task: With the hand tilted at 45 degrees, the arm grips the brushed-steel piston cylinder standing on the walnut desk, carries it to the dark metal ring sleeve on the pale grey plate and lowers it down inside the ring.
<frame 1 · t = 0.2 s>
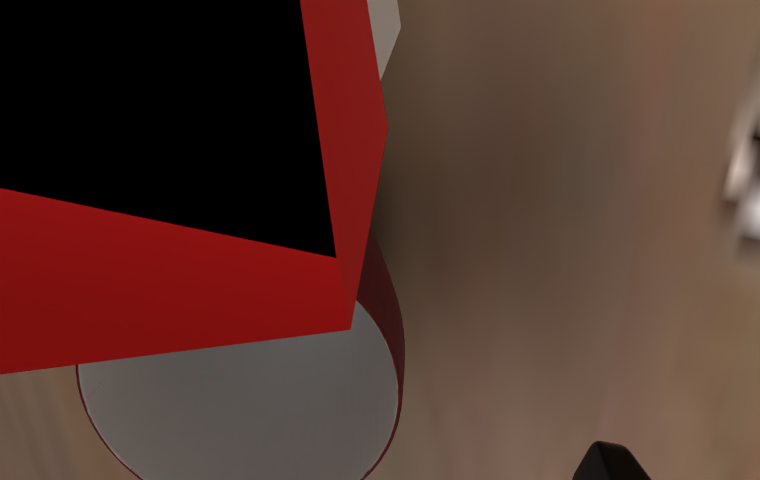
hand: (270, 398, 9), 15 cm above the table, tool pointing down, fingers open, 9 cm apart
mug: (309, 269, 25), on the table
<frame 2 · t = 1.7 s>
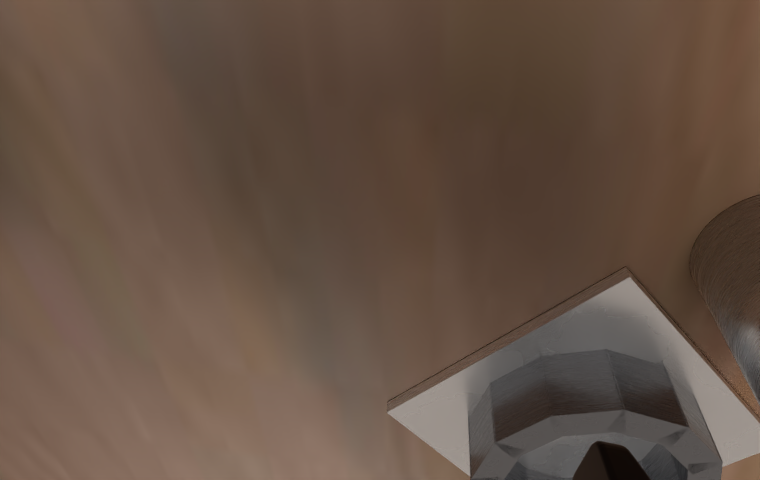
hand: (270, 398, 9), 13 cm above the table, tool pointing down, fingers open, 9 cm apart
ring sleeve: (577, 417, 28), on the table
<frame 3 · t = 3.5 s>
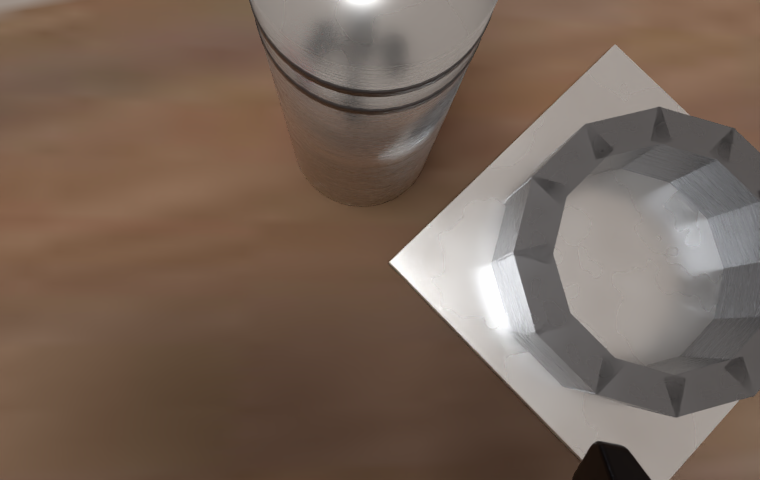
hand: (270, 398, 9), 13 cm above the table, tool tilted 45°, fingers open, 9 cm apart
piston: (361, 140, 23), on the table
ring sleeve: (618, 268, 23), on the table
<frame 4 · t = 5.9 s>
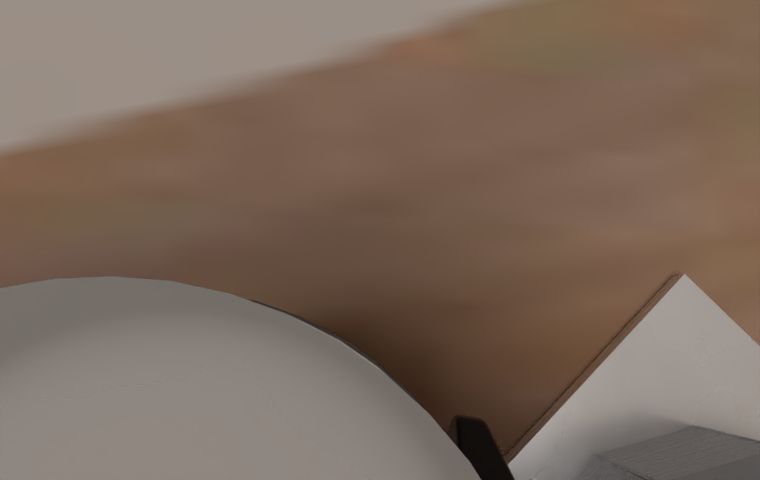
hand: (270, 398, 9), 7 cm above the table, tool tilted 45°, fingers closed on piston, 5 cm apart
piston: (293, 432, 15), on the table, touching gripper
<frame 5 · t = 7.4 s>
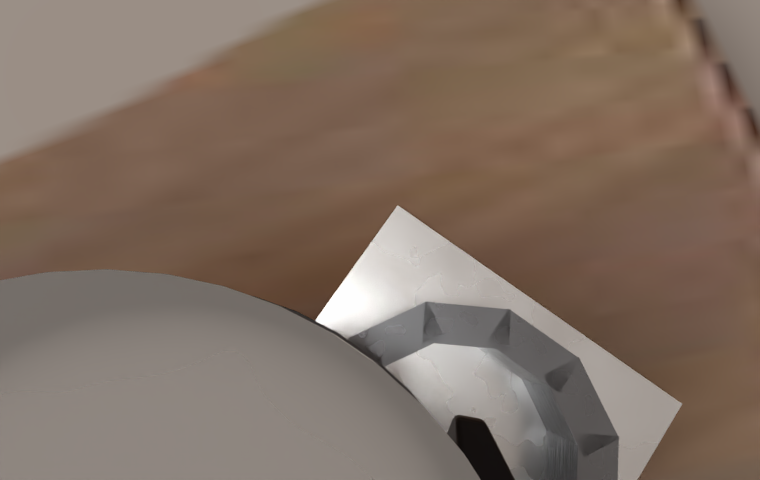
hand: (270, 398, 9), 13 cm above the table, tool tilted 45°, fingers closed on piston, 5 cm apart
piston: (291, 430, 15), point 7 cm above the table, touching gripper
ring sleeve: (439, 446, 21), on the table
when the fingers open (9 cm above the table, at t = 9.3 s): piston drops 1 cm, resting on ring sleeve.
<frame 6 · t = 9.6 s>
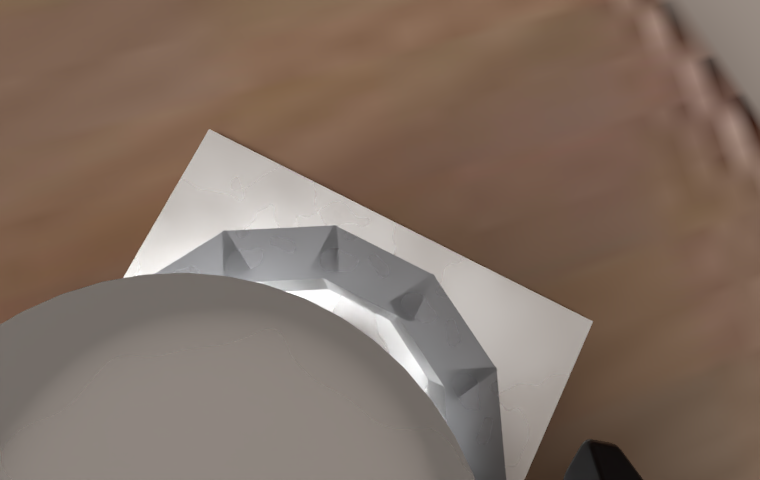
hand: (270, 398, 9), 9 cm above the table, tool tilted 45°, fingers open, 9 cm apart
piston: (297, 428, 16), point 1 cm above the table, touching ring sleeve
ring sleeve: (300, 420, 17), on the table
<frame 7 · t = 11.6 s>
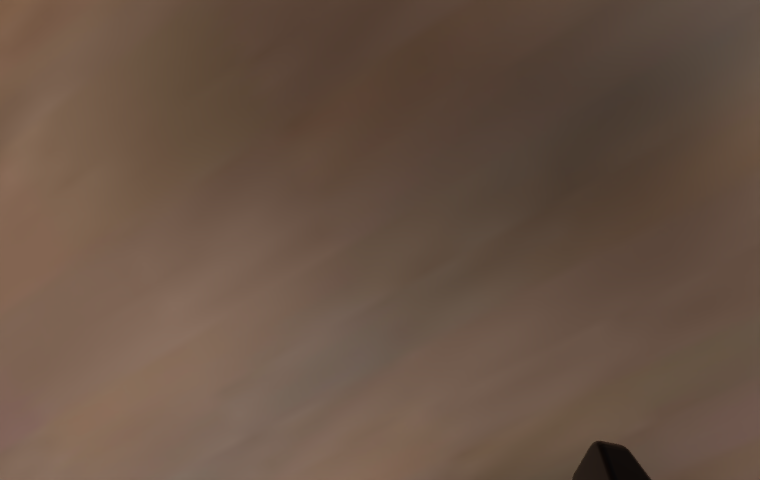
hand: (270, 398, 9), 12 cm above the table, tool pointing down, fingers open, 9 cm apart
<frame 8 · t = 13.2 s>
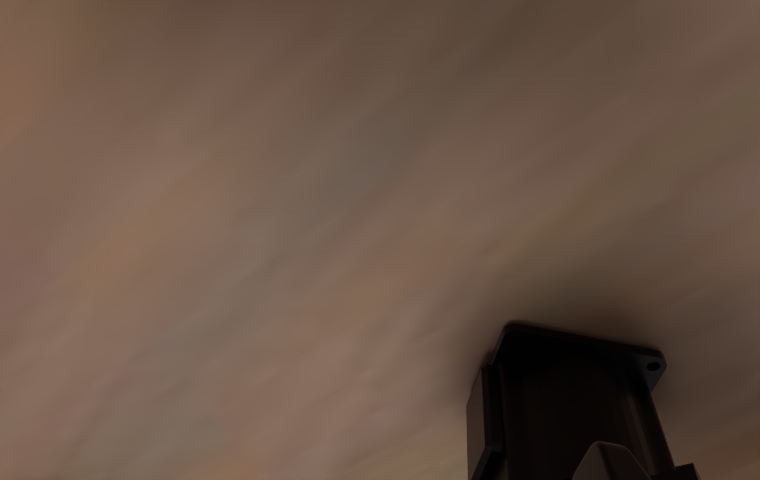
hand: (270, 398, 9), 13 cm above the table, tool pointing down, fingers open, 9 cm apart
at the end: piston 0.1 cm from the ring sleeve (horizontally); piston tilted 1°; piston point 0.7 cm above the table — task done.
